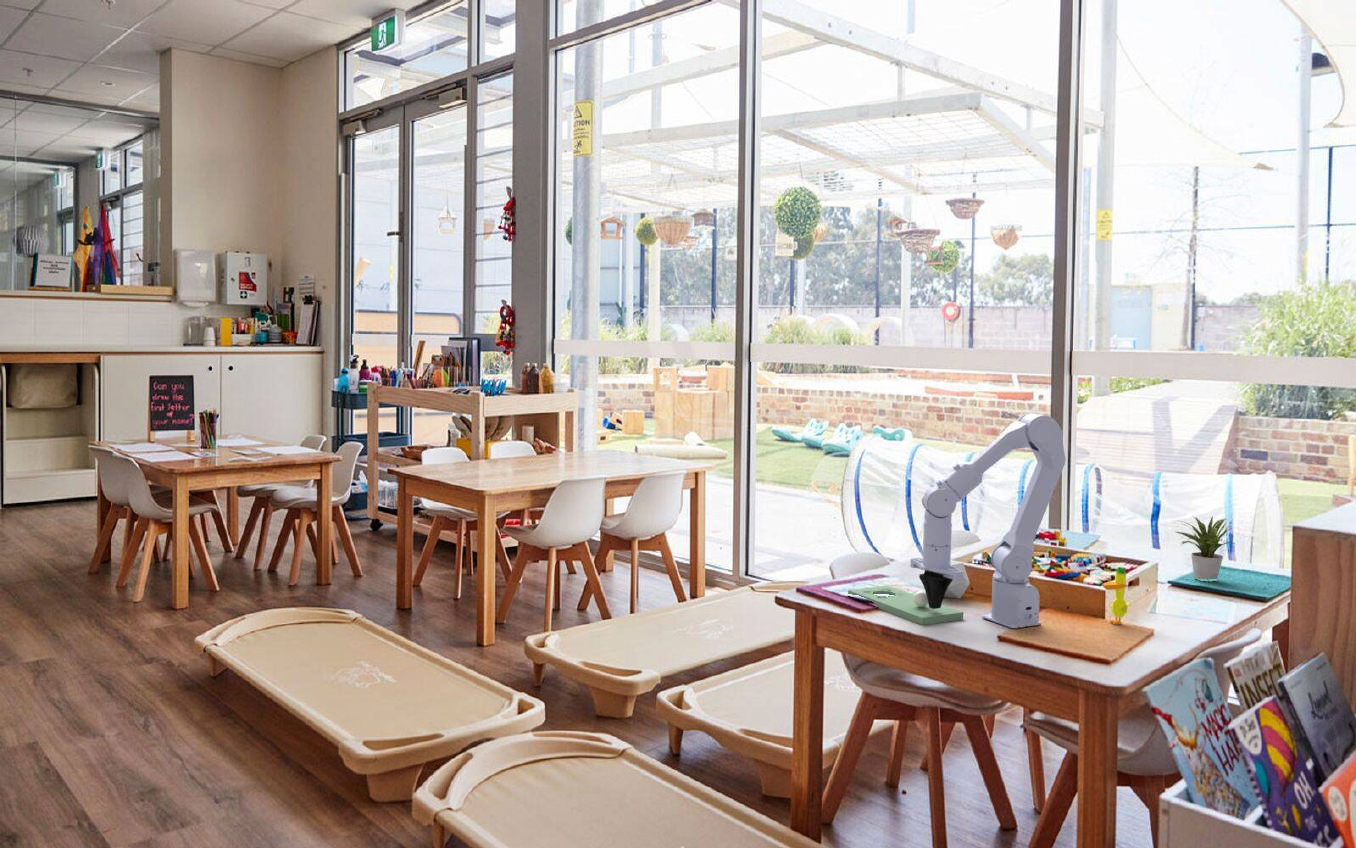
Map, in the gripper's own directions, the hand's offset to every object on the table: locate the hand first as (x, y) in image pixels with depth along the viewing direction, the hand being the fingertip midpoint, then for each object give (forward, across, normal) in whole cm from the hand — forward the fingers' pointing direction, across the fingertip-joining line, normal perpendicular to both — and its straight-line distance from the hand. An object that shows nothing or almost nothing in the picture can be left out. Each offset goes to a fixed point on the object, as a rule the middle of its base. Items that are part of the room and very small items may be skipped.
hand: (934, 607), depth 228 cm
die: (+3, -14, +17) cm, 22 cm away
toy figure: (+3, +19, +32) cm, 38 cm away
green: (+2, -10, 0) cm, 11 cm away
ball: (-1, -4, 0) cm, 4 cm away
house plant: (+2, -1, +87) cm, 87 cm away
